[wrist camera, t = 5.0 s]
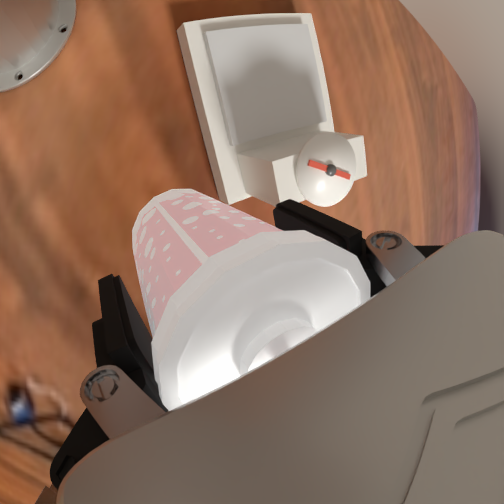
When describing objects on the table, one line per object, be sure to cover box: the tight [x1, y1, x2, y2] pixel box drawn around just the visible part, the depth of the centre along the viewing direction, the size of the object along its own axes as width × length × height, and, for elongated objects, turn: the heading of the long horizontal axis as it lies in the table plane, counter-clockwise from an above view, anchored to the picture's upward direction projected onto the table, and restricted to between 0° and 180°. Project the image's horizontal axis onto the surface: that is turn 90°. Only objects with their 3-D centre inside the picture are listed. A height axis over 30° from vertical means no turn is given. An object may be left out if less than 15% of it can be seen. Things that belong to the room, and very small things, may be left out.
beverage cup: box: [132, 189, 370, 411], centre depth 9 cm, size 6×6×14 cm
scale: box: [176, 13, 367, 207], centre depth 26 cm, size 19×14×10 cm
